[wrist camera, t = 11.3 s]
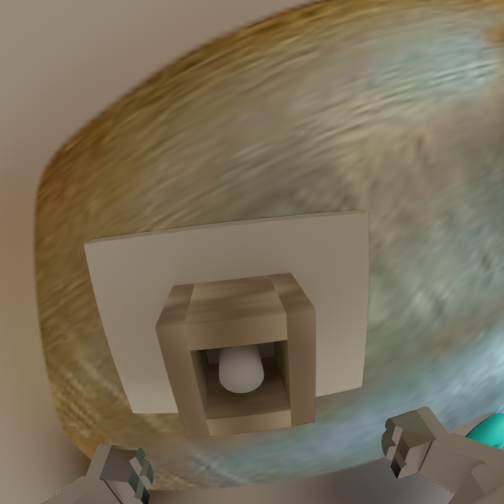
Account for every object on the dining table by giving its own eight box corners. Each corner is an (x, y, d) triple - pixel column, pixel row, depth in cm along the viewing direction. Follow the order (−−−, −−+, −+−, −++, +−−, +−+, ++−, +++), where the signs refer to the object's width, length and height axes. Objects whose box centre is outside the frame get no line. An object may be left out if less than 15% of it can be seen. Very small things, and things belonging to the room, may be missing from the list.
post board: (358, 209, 18) (412, 225, 12) (354, 375, 21) (387, 427, 15) (93, 238, 17) (43, 265, 11) (137, 400, 20) (119, 458, 14)
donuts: (514, 470, 15) (554, 441, 16) (469, 419, 25) (513, 402, 26) (465, 523, 17) (512, 494, 18) (434, 473, 27) (480, 454, 28)
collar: (290, 272, 17) (315, 309, 12) (295, 369, 19) (314, 422, 14) (173, 285, 17) (155, 326, 12) (192, 380, 18) (186, 436, 13)
